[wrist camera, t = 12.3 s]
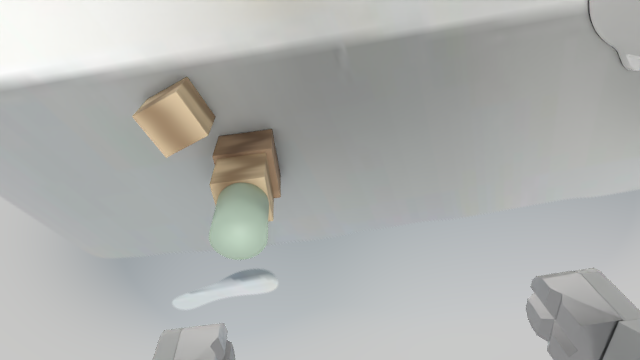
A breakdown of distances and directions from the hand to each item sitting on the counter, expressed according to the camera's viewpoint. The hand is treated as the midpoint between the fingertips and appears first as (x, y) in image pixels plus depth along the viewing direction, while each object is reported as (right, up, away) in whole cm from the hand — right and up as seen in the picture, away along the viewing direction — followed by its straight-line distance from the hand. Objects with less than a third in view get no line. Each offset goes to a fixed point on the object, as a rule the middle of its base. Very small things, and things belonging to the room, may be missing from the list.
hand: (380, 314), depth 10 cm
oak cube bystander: (-16, +11, +32) cm, 37 cm away
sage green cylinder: (-9, +1, +27) cm, 28 cm away
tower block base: (-10, +6, +35) cm, 37 cm away
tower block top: (-9, +4, +31) cm, 32 cm away
